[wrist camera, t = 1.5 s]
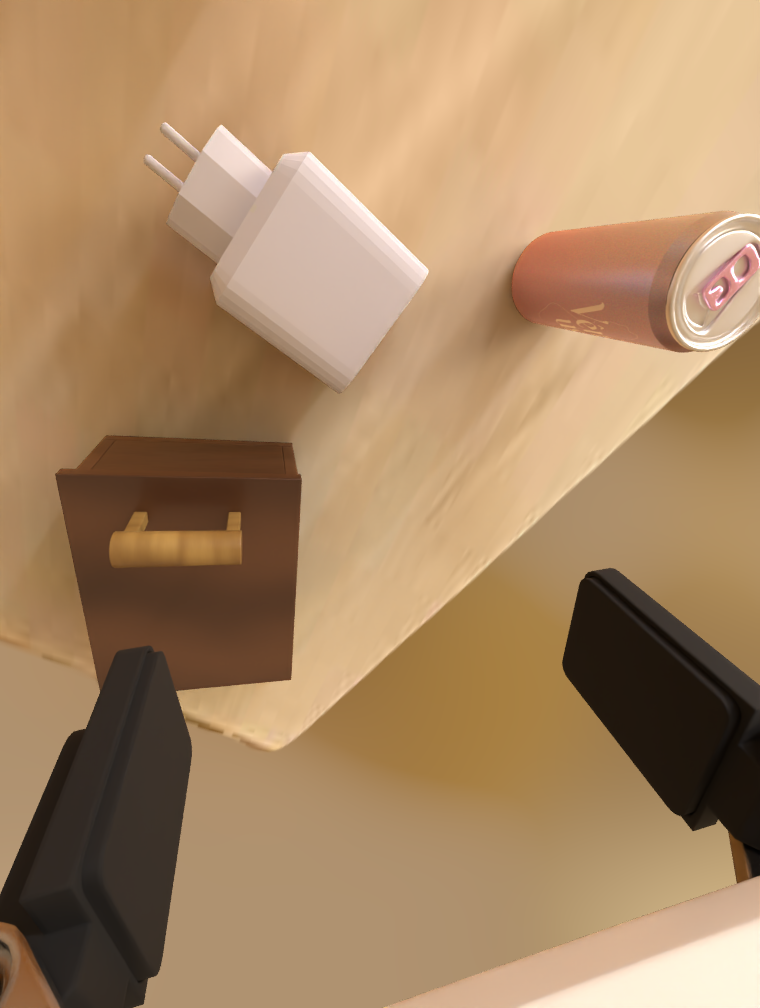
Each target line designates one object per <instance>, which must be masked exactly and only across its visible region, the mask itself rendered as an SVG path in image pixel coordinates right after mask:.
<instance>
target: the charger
mask: <svg viewBox="0 0 760 1008" xmlns="http://www.w3.org/2000/svg"><path fill="white" fill-rule="evenodd" d="M160 131H161V133H162V134H163V135H164V136H166V137H167V138H168V139H169V140H170V141H171V142H173V143H174V144H175V145H176V146H177V147H178V148H180V149H181V150H182V151H183V152H184V153H185V154H186V155H188V156H189V157H190V158H191V159H192V160H193V161H195V164H194V166H193V168H192V169H191V171H190V173H189V175H188V177H187V179H186V180H185V182H184V183H183V182H182V181H181V180H180V179H178V178H177V177H176V176H175V175H174V174H172V173H171V172H170V171H169V170H168V169H166V168H165V167H164V166H163V165H162V164H160V163H159V162H158V161H157V160H156V159H154V158H153V157H152V156H151V155H150V154H148V155H146V156H145V157H144V164H145V165H146V166H148V167H149V168H150V169H151V170H152V171H154V172H155V173H156V174H157V175H159V176H160V177H161V178H162V179H163V180H165V181H166V182H167V183H168V184H170V185H171V186H172V187H173V188H174V189H176V190H177V191H178V192H179V193H178V195H177V198H176V200H175V202H174V205H173V207H172V209H171V212H170V214H169V216H168V219H167V223H166V224H167V225H168V226H169V227H171V228H172V229H173V230H175V231H176V232H177V233H178V234H180V235H181V236H182V237H184V238H185V239H186V240H188V241H189V242H190V243H191V244H193V245H194V246H195V247H197V248H198V249H199V250H200V251H202V252H203V253H204V254H206V255H207V256H208V257H209V258H211V259H212V260H213V261H215V262H216V263H217V266H216V267H215V269H214V271H213V273H212V274H211V276H210V281H211V285H212V289H213V293H214V297H215V301H216V304H217V305H218V306H219V307H221V308H222V309H224V310H225V311H226V312H228V313H229V314H230V315H232V316H233V317H235V318H236V319H237V320H239V321H240V322H241V323H243V324H244V325H246V326H247V327H248V328H250V329H251V330H252V331H254V332H255V333H256V334H258V335H259V336H261V337H262V338H263V339H265V340H266V341H267V342H269V343H270V344H272V345H273V346H274V347H276V348H277V349H278V350H280V351H281V352H283V353H284V354H285V355H287V356H288V357H289V358H291V359H292V360H294V361H295V362H296V363H298V364H299V365H300V366H302V367H303V368H304V369H306V370H307V371H309V372H310V373H311V374H313V375H314V376H315V377H317V378H318V379H320V380H321V381H322V382H324V383H325V384H326V385H328V386H329V387H331V388H332V389H333V390H335V391H336V392H337V393H341V392H343V391H344V390H345V388H346V387H347V386H348V385H349V384H350V383H351V382H352V380H353V379H354V378H355V376H356V375H357V374H358V372H359V371H360V370H361V368H362V367H363V365H364V364H365V363H366V361H367V360H368V358H369V357H370V356H371V354H372V353H373V352H374V350H375V349H376V347H377V346H378V345H379V343H380V342H381V341H382V339H383V338H384V336H385V335H386V334H387V332H388V331H389V330H390V328H391V327H392V325H393V324H394V323H395V321H396V320H397V319H398V317H399V316H400V314H401V313H402V312H403V310H404V309H405V308H406V306H407V305H408V303H409V302H410V301H411V299H412V298H413V296H414V295H415V294H416V292H417V291H418V289H419V288H420V286H421V285H422V283H423V282H424V280H425V278H426V276H427V274H428V272H429V270H428V269H427V268H426V267H425V266H424V265H423V264H422V263H421V262H420V261H419V260H418V259H417V258H416V257H415V256H414V255H413V254H412V253H411V252H410V251H409V250H408V249H407V248H406V247H405V246H404V245H403V244H402V243H401V242H400V241H399V240H398V239H397V238H396V237H395V236H394V235H393V234H392V233H391V232H390V231H389V230H388V229H387V228H386V227H385V226H384V225H383V224H382V223H381V222H380V221H379V220H378V219H377V218H376V217H375V216H374V215H373V214H372V213H371V212H370V211H369V210H368V209H367V208H366V207H365V206H364V205H363V204H362V203H361V202H360V201H359V200H358V199H357V198H356V197H355V196H354V195H353V194H352V193H351V192H350V191H349V190H348V189H347V188H346V187H345V186H344V185H343V184H342V183H341V182H340V181H339V180H338V179H337V178H336V177H335V176H334V175H333V174H332V173H331V172H330V171H329V170H328V169H327V168H326V167H325V166H324V165H323V164H322V163H321V162H320V161H319V160H318V159H316V158H315V157H314V156H313V155H312V154H311V153H310V152H300V153H290V154H283V155H282V157H281V159H280V160H279V162H278V163H277V165H276V167H275V168H274V170H273V172H272V171H271V170H270V169H269V168H268V167H266V166H265V165H264V164H263V163H262V162H261V161H260V160H259V159H258V158H257V157H256V156H255V155H254V154H253V153H251V152H250V151H249V150H248V149H247V148H246V147H245V146H244V145H243V144H242V143H241V142H240V141H239V140H237V139H236V138H235V137H234V136H233V135H232V134H231V133H230V132H229V131H228V130H227V129H226V128H225V127H223V126H222V125H220V126H219V127H218V128H217V129H216V131H215V132H214V134H213V135H212V137H211V138H210V139H209V141H208V142H207V144H206V145H205V147H204V148H203V150H202V151H201V153H200V152H199V151H198V150H197V149H196V148H195V147H193V146H192V145H191V144H190V143H189V142H188V141H187V140H185V139H184V138H183V137H182V136H181V135H180V134H179V133H177V132H176V131H175V130H174V129H173V128H172V127H171V126H169V125H168V124H167V123H163V124H161V127H160Z"/></svg>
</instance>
